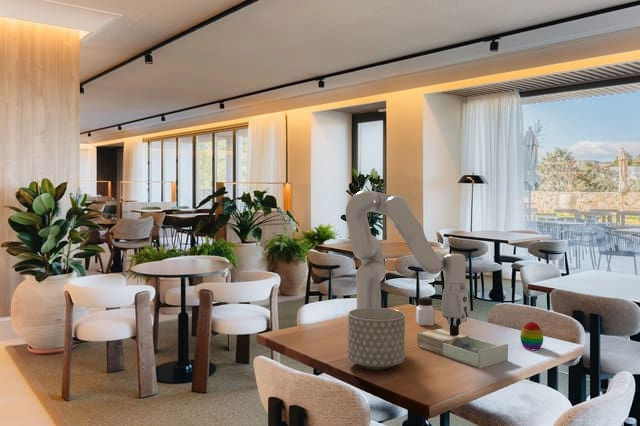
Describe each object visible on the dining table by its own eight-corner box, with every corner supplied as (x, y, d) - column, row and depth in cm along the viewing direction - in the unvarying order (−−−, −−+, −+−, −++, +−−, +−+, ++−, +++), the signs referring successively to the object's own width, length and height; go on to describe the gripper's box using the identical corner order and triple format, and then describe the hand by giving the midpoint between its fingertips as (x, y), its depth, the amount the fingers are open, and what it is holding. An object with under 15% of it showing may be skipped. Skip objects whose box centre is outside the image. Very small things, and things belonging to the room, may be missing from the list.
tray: (479, 368, 174) (479, 350, 174) (442, 355, 188) (443, 339, 188) (507, 360, 182) (508, 343, 182) (470, 348, 196) (470, 333, 196)
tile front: (460, 347, 187) (460, 354, 187) (470, 351, 183) (470, 358, 183) (470, 345, 190) (469, 352, 190) (480, 349, 185) (480, 356, 185)
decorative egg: (521, 343, 204) (521, 318, 204) (543, 346, 201) (544, 320, 200) (519, 349, 197) (519, 323, 196) (542, 352, 193) (543, 325, 193)
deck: (442, 354, 189) (442, 341, 189) (417, 345, 200) (417, 333, 200) (468, 348, 197) (468, 335, 196) (442, 340, 207) (443, 328, 207)
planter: (414, 373, 169) (414, 318, 168) (359, 378, 164) (360, 321, 163) (390, 355, 187) (390, 306, 187) (340, 360, 182) (340, 309, 181)
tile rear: (453, 347, 191) (457, 352, 189) (459, 338, 188) (464, 344, 187) (462, 345, 194) (466, 350, 192) (468, 336, 191) (473, 342, 189)
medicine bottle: (434, 325, 232) (434, 299, 231) (418, 325, 232) (419, 298, 231) (431, 321, 239) (431, 296, 238) (415, 321, 239) (416, 295, 238)
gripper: (477, 288, 189) (476, 338, 189) (446, 283, 201) (446, 329, 202) (463, 290, 184) (463, 341, 185) (433, 284, 197) (432, 332, 197)
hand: (454, 335), depth 193 cm, fingers closed
